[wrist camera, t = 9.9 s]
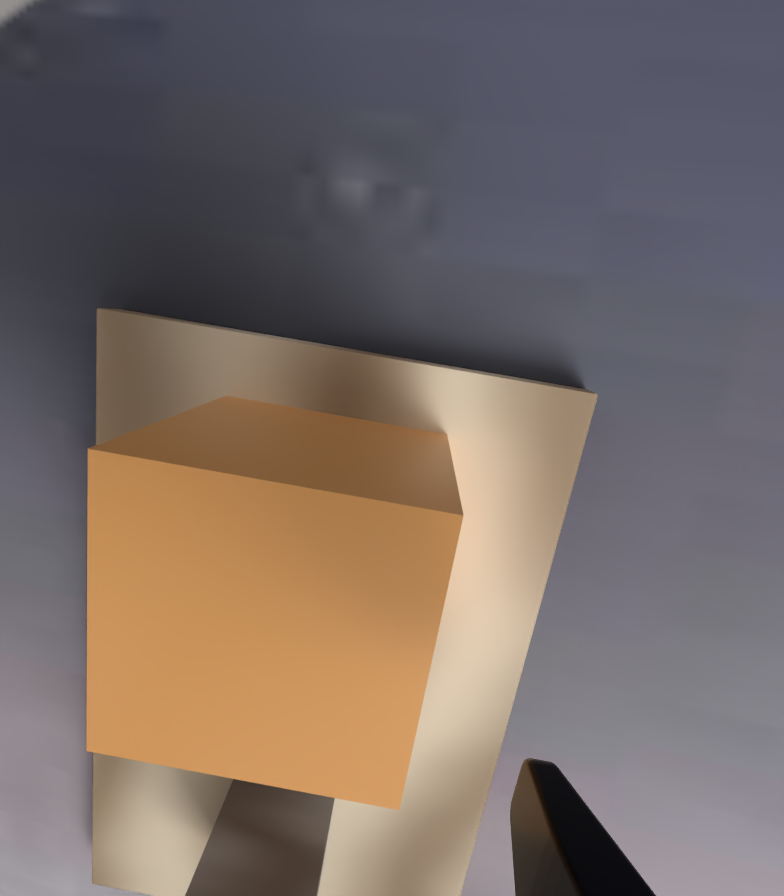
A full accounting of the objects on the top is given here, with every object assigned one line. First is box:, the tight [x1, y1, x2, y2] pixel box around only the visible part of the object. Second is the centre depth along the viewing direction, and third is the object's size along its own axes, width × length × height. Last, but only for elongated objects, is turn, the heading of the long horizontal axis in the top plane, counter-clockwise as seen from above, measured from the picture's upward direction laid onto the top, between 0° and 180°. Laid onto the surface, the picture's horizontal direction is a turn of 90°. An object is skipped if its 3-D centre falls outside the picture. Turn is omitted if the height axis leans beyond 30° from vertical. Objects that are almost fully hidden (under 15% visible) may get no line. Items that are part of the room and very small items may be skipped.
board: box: [92, 308, 598, 896], centre depth 15 cm, size 14×22×6 cm, turn 171°
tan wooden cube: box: [87, 396, 464, 810], centre depth 12 cm, size 6×6×6 cm
